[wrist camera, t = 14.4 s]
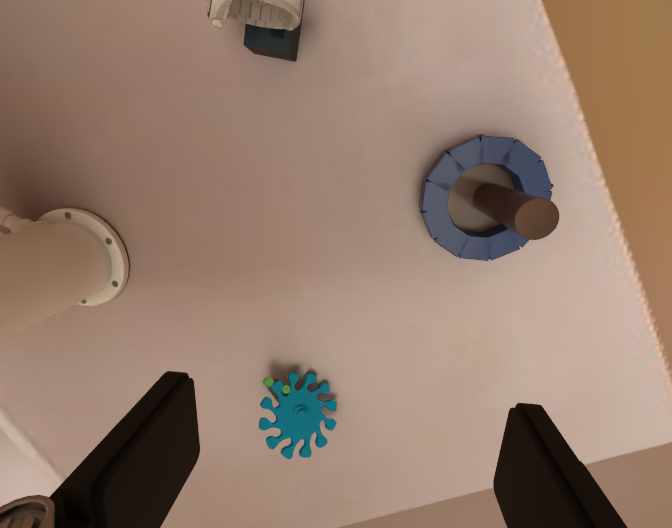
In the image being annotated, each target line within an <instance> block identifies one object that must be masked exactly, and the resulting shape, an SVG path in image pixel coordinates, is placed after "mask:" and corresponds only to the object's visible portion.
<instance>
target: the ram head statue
mask: <svg viewBox="0 0 672 528" xmlns="http://www.w3.org/2000/svg"><path fill="white" fill-rule="evenodd" d="M303 7H304V0H207V11H208V19H209V20H212V19H214V20H213V26H214V27H217V28H223V22H226V20H227V18H228V17H229V18H231V19H235V20H236V21H240V22H243V23H246V26H245V36H244V46H246V47H247V48H248V49H249V50H251V51H252V52H253V53H254V54H259V55H265V56H270V57H275V58H280V59H286V60H291V61H296V58H297V51H298V43H299V36H300V29H301V21H302V14H303ZM245 17H246V20H245Z"/></svg>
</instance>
